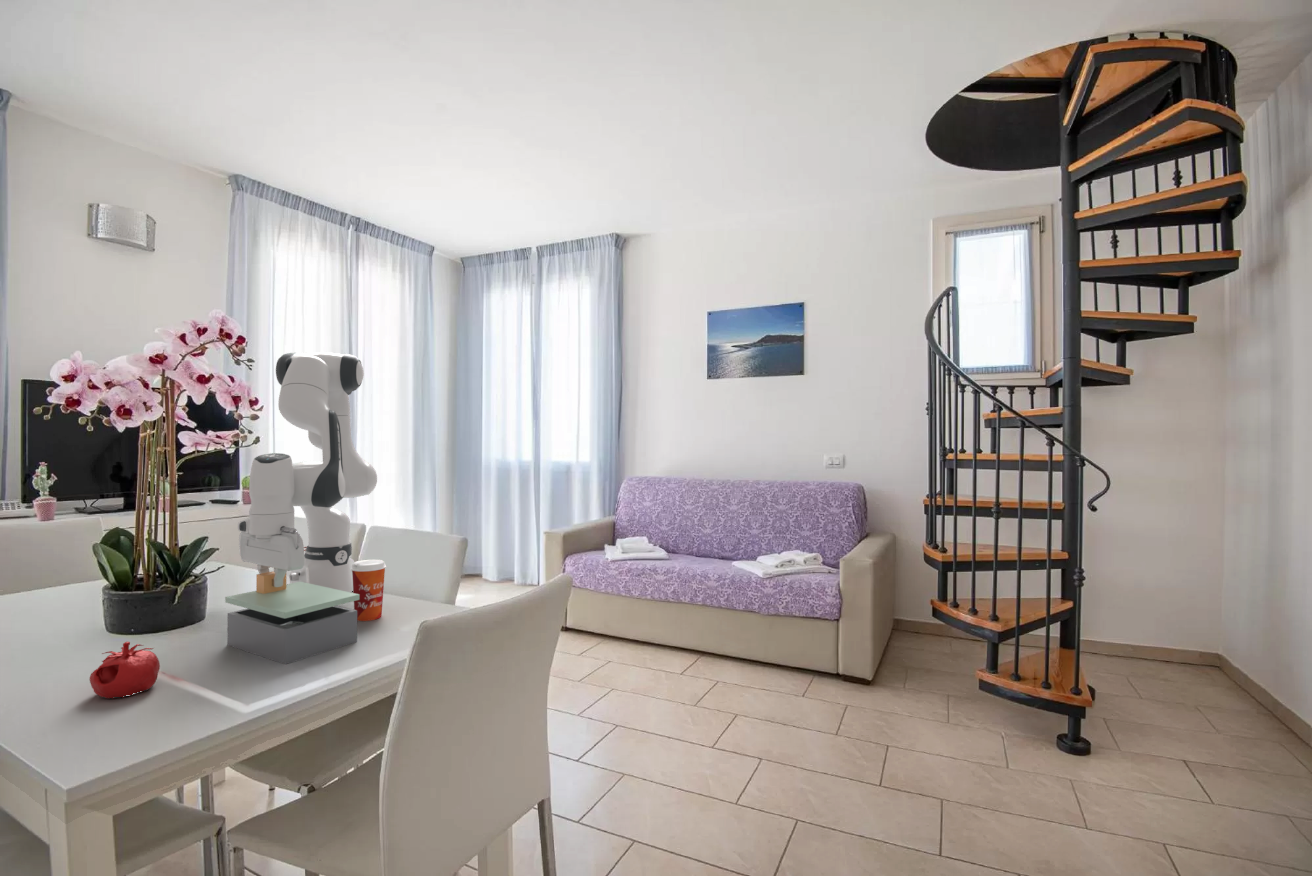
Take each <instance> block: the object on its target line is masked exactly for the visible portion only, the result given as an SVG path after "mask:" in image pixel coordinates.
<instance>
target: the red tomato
mask: <svg viewBox="0 0 1312 876" xmlns="http://www.w3.org/2000/svg"><path fill="white" fill-rule="evenodd" d="M130 645H131V642H130V641H125V642H124V643H123V644H122V647H120V650H121V651H118V652H116V651H113V650H110V651H106V652H102V653H101V655H103V654H109V655H108V656H107V657H105V658H104V659H103V660H101V662H102V664H100V665H99V666H98V667H97V668H96V669H95V670H93V671H92V672H91V674H90V676H89V683H90V685H91V688H92V691H93V693H94V694H96V695H97V696H99V697H101V698H103V697H105V698H104V699H110V698H112V699H114V698H113V697H122V698H124V697H123V696H126V695H132V694H133V693H137V692H140V691H144V690H146V691H147V689H148V690H150V689H152V687H153V686H154V685H155V683H156V681H157V680H158V675H159V672H160V668H161V664H160V661H159V658H158V656H157V655H156V654H155V653H154V652H153V651H151V650H153V649H155V647H152V648H149V647H145V648H141V649H138V650H137V649H136V648H137V647H142V646H144V644H139V643H137V644H135V645H134V646H131V647H130ZM144 692H145V691H144ZM137 694H138V693H137Z"/></svg>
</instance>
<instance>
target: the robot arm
mask: <svg viewBox="0 0 1312 876" xmlns="http://www.w3.org/2000/svg"><path fill="white" fill-rule="evenodd" d="M364 374H365V373H364V367H363V365H362V361H361V360H360V358H358V356H356V355H353V354H349V353H344V354H341V353H335V352H327V351H325V352H324V351H319V352H288V353H287V352H286V353H284V354H282V355H281V356H280V357H279V358H278V359H277V361H276V365H275V376H276V380H277V383H278V384H279V385H280V387H281V388H280V391H279V394H278V395H279V397H278V410H279V413H280V415H282V417H283V418H284V419H285V420H286V421H287V422H288V423H289V424H290V425H291V424H292V426H295V427H297V428H299V429H302V430H305V431H307V433H308V434H307V435H308V441H309V442H310V443H311V444H312V445H313V446H314V447H316V448H318V449H319V450H321V453H322V454H321V455H322V461H300V462H295V463H293V461H292V457H291V456H290V455H289V454H285V453H279V452H278V453H276V452H275V453H274V452H273V453H271V452H270V453H265V454H260V455H257V456H256V457H254V458H253V460H252V463H251V467H250V472H249V473H250V474H249V483H248V489H249V490H248V491H249V492H248V494H249V498H250V508H249V511H248V517H247V518H244V519H243V520H241V521H239V522H238V523H237V531H238V532H240V533H239V537H238V538H239V539H238V541H239V542H238V546H239V549H238V550H239V557H240V559H241V561H242V562H243V563H244V562H246V563H248V564H249V563H250V564H254V565H257V567H256V568H257V571H258V574H262V573H267V572H270V568H273V571H274V572H275V576H274V579H272V586H273V587H281V586H283V578H284V576H285V574H286V575H287V571H288V572H290V574H289V584H291V583H296V582H304V583H309V584H314V585H318V586H323V587H327V588H332V589H337V590H341V591H346V592H351V593H353V592H352V591H353V576H352V570H351V568H352V565H353V563H354V562H355V561H354V559H353V558H351V555H352V552H353V551H352V550H353V546H352V542H351V520H350V518H349V515H347V514H346V513H345V512H343V511H342V510H339V509H336V508H335V507H333V506H336V504H338V503H340V502H341V501H342V499H344V498H346V499H349V498H351V499H353V498H359V497H363V496H367V495H368V496H369V495H371V493H373V491H374V490H375V488H376V486H377V483H378V475H377V471H376V470H375V467H374V466H372V464H370V463H369V462H367V461H366V460H365V459H363V457H361V455H360V454H359V453H358V452H357V450H356V447H355V446H354V443H353V440H352V432H351V431H352V430H351V429H352V428H351V405H350V397H349V396H350V395H351V394H352V393H353V392H354V391H356V390H357V389H359V388H360V386H361V384H362V382H363V380H364ZM295 507H300V509H301V510H302V512H303V513H304V516H305V519H306V524H307V537H308V538H307V541H308V544H307V546H304V540H303V538H302V537H301V535H300V533H299V532H298V529H296V528H295Z"/></svg>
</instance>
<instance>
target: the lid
mask: <svg viewBox="0 0 1312 876" xmlns="http://www.w3.org/2000/svg"><path fill="white" fill-rule="evenodd" d="M274 576H275V572H274V570H273V571H269V572H267V573H262V574H259V573H257V574H256V582H255V583H256V587H255V588H256V590H253V591H252V590H251V591H247V592H243V593H239V594H238V593H237V594H234V595H229V596H225V597H224V598H225V600H224V601H225V602H224V603H225V604H230V605H233V606H238V607H241V608H244V609H251V610H255V611H259V612H262V613H266V614H270V615H273V616H277V617H281V618H284V619H285V618H289V617H293V616H297V615H301V614H305V613H309V612H313V611H317V610H321V609H325V608H329V607H333V606H341V605H344V604H348V603H351V602H354V601H356V600H359V594H355V593H353V592H346V591H341V590H337V589H332V588H327V587H323V586H318V585H314V584H309V583H304V582H296V583H291V584H290V583H288V584H287V573H286V574H285V576H284V578H283V586H281V587H273V586H272V579H274Z"/></svg>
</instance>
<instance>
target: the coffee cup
mask: <svg viewBox="0 0 1312 876" xmlns="http://www.w3.org/2000/svg"><path fill="white" fill-rule="evenodd" d="M385 568H387V565H386V563H385V561H384V560H382V559H364V560H357V561H354V563H353V565H352V568H351V570H352V576H353V592H352V593H355V594H359V600H356V601H353V608H354V610H357V622H369V621H370V622H371V621H374V620H378V619H380V618H382V615H383V603H384V602H383V601H384V589H385V588H384V585H385V572H386V569H385Z"/></svg>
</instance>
